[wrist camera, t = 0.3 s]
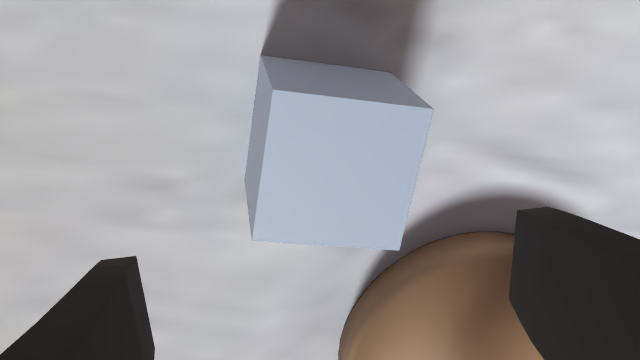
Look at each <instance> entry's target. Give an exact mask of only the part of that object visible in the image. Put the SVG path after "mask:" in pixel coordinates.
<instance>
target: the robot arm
mask: <svg viewBox="0 0 640 360" xmlns="http://www.w3.org/2000/svg"><path fill="white" fill-rule="evenodd" d="M509 301H510V303H511V305H512V307H513V309H514V310H515V312H516V314H517V316H518V318H519V320H520V322H521V324H522V326H523V328H524V330H525V331H526V333H527V335H528V337H529V339H530V340H531V342H532V343H533V345H534V346H535V348H536V349H537V351H538V352H539V353H540V355H541V356H542V358H543V359H544V360H640V239H637V238H634V237H632V236H629V235H627V234H624V233H621V232H619V231H616V230H613V229H611V228H608V227H606V226H603V225H600V224H598V223H595V222H592V221H590V220H587V219H584V218H582V217H579V216H576V215H573V214H570V213H567V212H564V211H561V210H557V209H553V208H550V207H542V208H533V209H525V210H517V217H516V227H515V238H514V248H513V258H512V269H511V279H510V289H509ZM154 351H155V347H154V342H153V337H152V332H151V327H150V322H149V317H148V312H147V307H146V303H145V298H144V293H143V288H142V283H141V278H140V273H139V268H138V263H137V258H136V256H132V257H124V258H115V259H107V260H101V261H100V262H98V263H97V264H96V265H95V266H94V267H93V268H92V269H91V270H90V271H89V272H88V273H87V274H86V275H85V276H84V277H83V278H82V279H81V280H80V281H79V282H78V283H77V284H76V285H75V286H74V287H73V288H72V289H71V290H70V291H69V292H68V293H67V294H66V295H65V296H64V297H63V298H62V299H61V300H60V301H59V302H57V303H56V304H55V305H54V306H53V307H52V308H51V309H50V310H49V311H48V312H47V313H46V314H45V315H44V316H43V317H42V318H41V319H40V320H39V321H38V322H37V323H36V324H35V325H34V326H32V327H31V328H30V329H29V330H28V331H27V332H26V333H24V334H23V335H22V336H21V337H20V338H19V339H18V340H16V341H15V342H14V343H13V344H12V345H11V346H10V347H8V348H7V349H6V350H5V351H4V352H3V353H2V354H0V360H154Z"/></svg>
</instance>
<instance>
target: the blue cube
mask: <svg viewBox="0 0 640 360" xmlns="http://www.w3.org/2000/svg"><path fill="white" fill-rule="evenodd" d="M433 110H434V109H433V108H432V107H431V106H430V105H428V104H427V103H426V102H425V101H424V100H423V99H421V98H420V97H419V96H418V95H417V94H415V93H414V92H413V91H412V90H411V89H410V88H408V87H407V86H406V85H405V84H404V83H402V82H401V81H400V80H399V79H398V78H397V77H395V76H394V75H393V74H392V73H391V72H384V71H377V70H369V69H362V68H354V67H347V66H339V65H331V64H324V63H316V62H309V61H301V60H294V59H286V58H279V57H271V56H264V55H260V63H259V71H258V79H257V87H256V94H255V102H254V110H253V118H252V126H251V134H250V142H249V150H248V157H247V165H246V173H245V188H246V196H247V204H248V213H249V221H250V229H251V237H252V241H260V242H275V243H291V244H306V245H321V246H336V247H352V248H367V249H382V250H398V251H399V249H400V245H401V241H402V237H403V233H404V229H405V225H406V221H407V217H408V213H409V209H410V204H411V200H412V196H413V192H414V188H415V184H416V180H417V176H418V172H419V168H420V163H421V159H422V155H423V151H424V147H425V143H426V139H427V135H428V131H429V127H430V122H431V118H432V114H433Z"/></svg>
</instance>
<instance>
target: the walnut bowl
mask: <svg viewBox="0 0 640 360" xmlns="http://www.w3.org/2000/svg"><path fill="white" fill-rule="evenodd" d="M514 238H515V235H514V234H509V233H501V232H473V233H464V234H459V235H455V236H451V237H446V238H443V239H441V240H438V241H435V242H432V243H429V244H427V245H425V246H423V247H421V248H419V249H416V250H414V251H412V252H411V253H409V254H407V255H406V256H404V257H403V258H401V259H399V260H398V261H396V262H395V263H394V264H392V265H391V266H390V267H389V268H387V269H386V270H385V271H384V272H382V273H381V274H380V275H379V276H378V277H377V278H376V279H375V280H374V281H373V282H372V283H371V284H370V285H369V287H368V288H367V289H366V290H365V292H364V293H363V294H362V295H361V296H360V298H359V299H358V301H357V303H356V304H355V306H354V307H353V309H352V311H351V312H350V315H349V317H348V319H347V321H346V324H345V326H344V329H343V333H342V336H341V339H340V346H339V353H338V360H544V359H543V358H542V356H541V355H540V353H539V352H538V351H537V349H536V348H535V346H534V345H533V343H532V342H531V340H530V339H529V337H528V335H527V333H526V331H525V330H524V328H523V326H522V324H521V322H520V320H519V318H518V316H517V314H516V312H515V310H514V309H513V307H512V305H511V303H510V301H509V289H510V279H511V269H512V258H513V248H514Z"/></svg>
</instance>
